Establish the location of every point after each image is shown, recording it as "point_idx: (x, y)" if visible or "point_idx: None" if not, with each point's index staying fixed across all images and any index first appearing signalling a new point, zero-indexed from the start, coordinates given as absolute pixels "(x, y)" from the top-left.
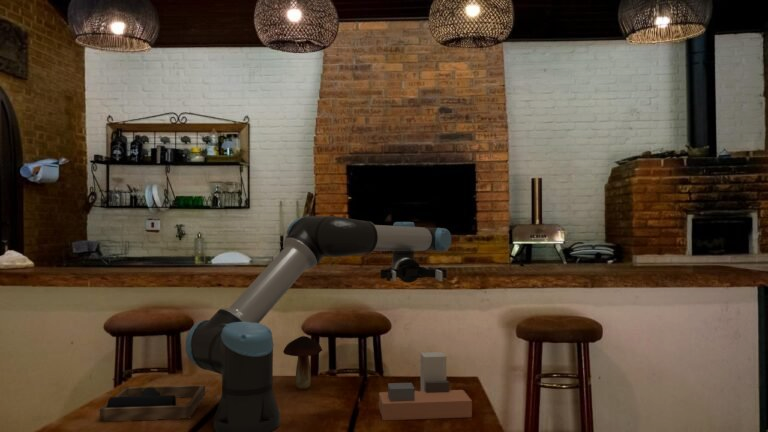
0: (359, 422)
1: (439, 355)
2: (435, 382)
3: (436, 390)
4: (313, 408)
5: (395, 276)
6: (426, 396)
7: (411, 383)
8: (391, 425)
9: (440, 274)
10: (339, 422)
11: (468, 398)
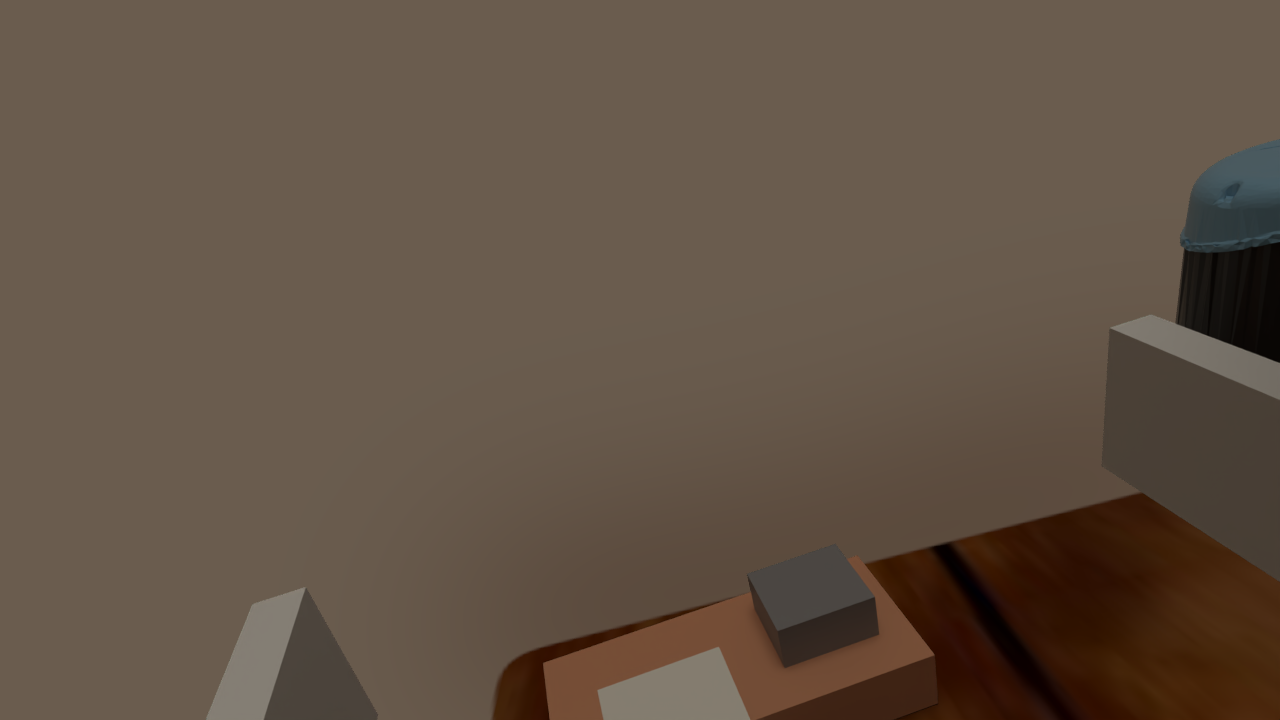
0: (930, 567)
1: (635, 700)
2: None
3: None
4: (1212, 630)
5: (1112, 393)
6: None
7: (774, 621)
8: None
9: (316, 633)
10: (995, 551)
11: (551, 683)
